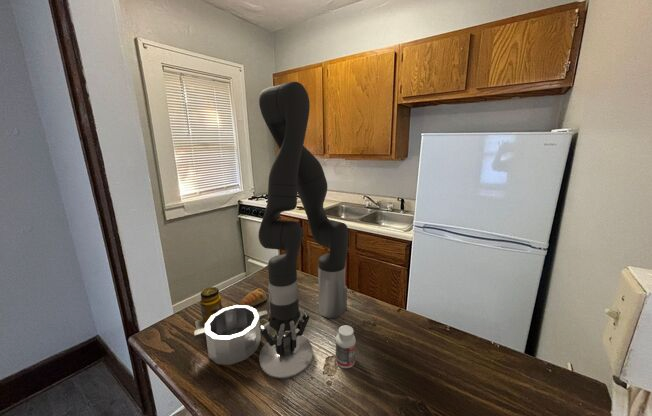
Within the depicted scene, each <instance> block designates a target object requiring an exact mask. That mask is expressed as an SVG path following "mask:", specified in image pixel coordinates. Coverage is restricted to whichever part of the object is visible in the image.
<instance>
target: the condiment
mask: <svg viewBox="0 0 652 416" xmlns="http://www.w3.org/2000/svg"><path fill="white" fill-rule="evenodd" d="M219 291H220V290H219V288H218V287H215V286H211V287H206V288H205V289H202V291H201V292H200V299H201V300H200V303H199V305H200V309H201V318H202V319H199V320H195V321H194V322H195V323H194V324H195V329H196V330H199V329H202V328H205V324H206V322H207V321H208V320H209V318H210V317H211V316H212V315H213V314H215V313H217V312H218V311H220V310H222V309H223V308H222V307H223V305H222V299H221V298H222V297H221V294H220V292H219Z"/></svg>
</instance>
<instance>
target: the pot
mask: <svg viewBox="0 0 652 416" xmlns="http://www.w3.org/2000/svg"><path fill="white" fill-rule="evenodd" d="M267 318H269V314H268V311H267V310H262V311H258V310H257V309H256V308H254V307H253V306H251V307H250V306H246V305H241V304H240V305H239V304H235V305H232V306H228V307H224V308H222V310H220V311H218V312H217V313H215V314H213V315H212V316H211V317H210V318H209V320H208V321H207V322H206V324H205V328H202V329H199V330H197V329H196V330H194V331H193V332H194V339H195V340H196V339H200V338H203V337H205V340H206V346H207V355H208V359H210V360H211V361H213V362H214V363H215V364H216V365H228V366H229V365H231V366H232V365H234V364H237V363H240V362H242V361H246V360H247V359H248V358H250V357H251V356H252V355H253V354H254V353H255V352H256V351H258V348H259V346H260V343H261V341H262V337H261V336H262V334H261V331H260V328H259V326H260V325H261V320H264V319H267Z"/></svg>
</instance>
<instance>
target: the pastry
mask: <svg viewBox="0 0 652 416" xmlns="http://www.w3.org/2000/svg"><path fill="white" fill-rule="evenodd" d="M267 299H268V298H267V294H266V292H265V290H263V288H260V287H259V288H257V289H254V290H252V291H250V292H248V294H246V296H244V297H243V298H242V299H241V301H240V305H246V306H250V307H254V306H257V305H259V304H261V303H263V302H264V301H266V300H267Z"/></svg>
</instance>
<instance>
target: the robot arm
mask: <svg viewBox="0 0 652 416" xmlns="http://www.w3.org/2000/svg"><path fill="white" fill-rule="evenodd" d="M258 105H259V109H260V113H261V116H262V118H263V120H264V123H265V124H266V125H265V126H267V129H268V130H269V132H270V134H271V136H272V138H273V139H274V141H275V144H276V145H277V147H278V149H279V151H278V153H277V155H276V156H275V159H274V161H273V163H272V165H271V167H270V172H269V176H268V185H267V186H268V187H267V203H266V206H265V210H264V214H263V217H262V220H261V222H260V223H261V224H260V225H259V229H258V234H257V235H258V241H259V243H260V245H261V247H263V248H264V249H267V250H268V249H269V250H278V251H279V250H282V251H285V252H286V253H283V254H277V255H274V256H272V257H271V258H270V259H269V261H268V264H267V265H268V266H267V270H268V272H267V273H268V304H269V316H268V320H267V322H266V323H264V324H263V323H260V326H259V328H260V333H261V336H262V337H263V338H264V339H265V340H266V343H267V342H268V343H269V345H270V346H273V345H275V348H276V352H277V354H278V355H280V356H282V355H283V351H282V343H281V342H282V338H283V332H289V333H290V334H291V351H292V352H293V351H295V348H296V339H297V337H298V336H303V335H304V332H305V330H306V327H307V324H308V323H309V319H310V315H309V314H308V312H307V311H306V310H303V311H302V312H301V311H299V309H300V307H299V306H300V305H299V303H300V302H299V292H300V291H299V283H298V276H297V275H298V273H297V270H298V267H297V264H298V258H299V257H298V256H299V253H300V248H301V246H302V241H303V239H304V238H303V236H304V230H303V227H302V226H301V224H300V223H299V222H298V221H292V220H278V219H279V216H280V214H281V213H284V212H285V213H286V212H290V211H294V210H295V209H296V208H297V204H298V197H299V199H300V202H301V205H302V207H303V210H304V212H305V215H306V218H307V220H308V225H309V228H310V232H311V236H312V239H313V241H314V242H315V244H317V245H319V246H322V247H324V248H327V249H329V253H324V254H323V255H321V256H319V258H318V261H317V263H318V264H317V271H318V275H317V278H318V306H317V307H318V313H319V314H320V315H321V316H322V317H324V318H328V319H336V318H339V317H341V316H343V314H344V313H345V312H347V309H348V308H347V307H348V286H347V285H346V262H347V259H348V258H347V257H348V248H349V247H348V245H349V227H348V226H347V224H346V223H345V222H341V221H337V220H332V219H330V218H328V217H327V214H326V212H325V209H324V203H325V199H326V196H327V192H328V181H327V178H326V176H325V172H324V169H323V167H322V164H321V162H320V161H319V160H318V159H317V158H316V156H315V155H314V154H312V152H311V151H309V149H308V148H307V147H306V146H305V145H304V143H305V138H306V134H307V133H306V132H307V128H308V122H309V117H310V107H311V104H310V97H309V94H308V92H307V90H306V88H305V86H304V85H303V84H302V83H300V82H299V81H288V82H283V83H281V84H277V85H272V86H269V87H266V88H264V89H263V90H261V92H260V94H259V97H258ZM296 324H297V325H296ZM270 328H272V329H274V336H272V334H271V333H270Z"/></svg>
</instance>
